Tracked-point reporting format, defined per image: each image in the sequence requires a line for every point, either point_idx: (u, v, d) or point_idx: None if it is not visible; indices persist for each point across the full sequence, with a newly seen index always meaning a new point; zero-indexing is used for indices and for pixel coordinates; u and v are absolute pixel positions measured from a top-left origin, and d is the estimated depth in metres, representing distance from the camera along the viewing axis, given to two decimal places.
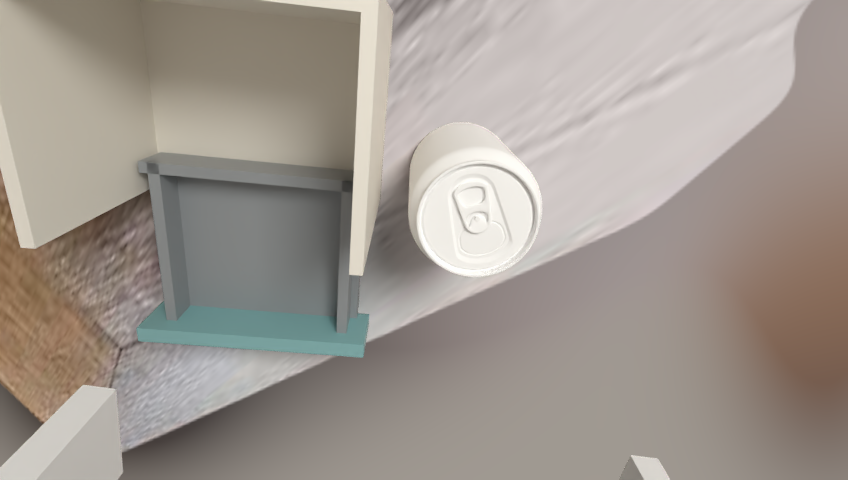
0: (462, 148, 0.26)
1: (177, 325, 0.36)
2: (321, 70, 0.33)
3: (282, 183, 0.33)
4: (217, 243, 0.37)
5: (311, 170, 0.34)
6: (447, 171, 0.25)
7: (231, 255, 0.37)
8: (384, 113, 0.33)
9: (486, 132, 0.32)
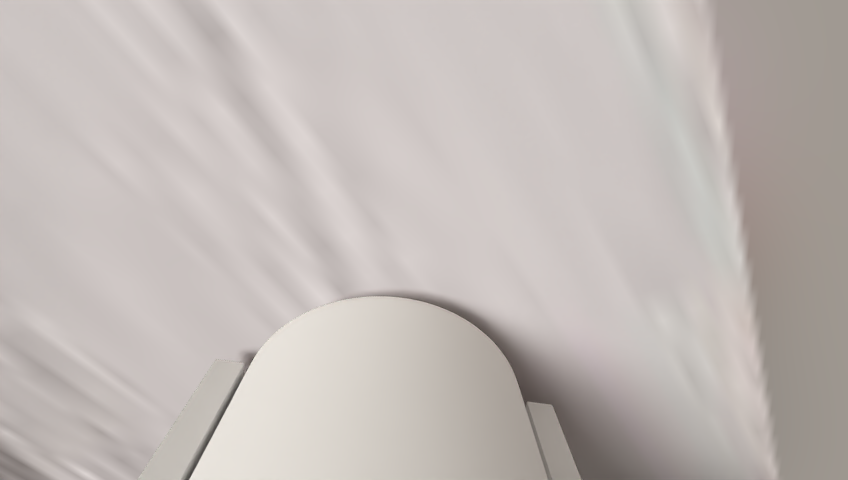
0: None
1: None
2: None
3: None
4: None
5: None
6: None
7: None
8: None
9: None
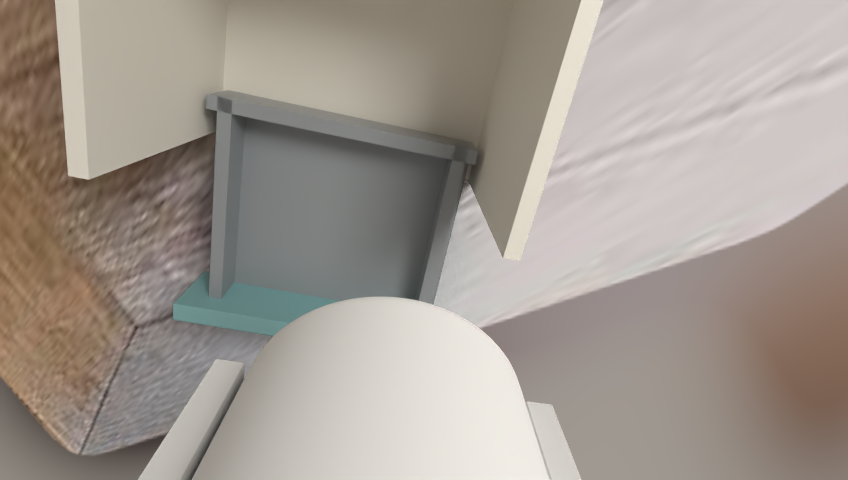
0: None
1: (222, 304, 0.30)
2: (441, 11, 0.27)
3: (382, 142, 0.26)
4: (280, 210, 0.30)
5: (412, 132, 0.28)
6: None
7: (295, 226, 0.31)
8: None
9: None
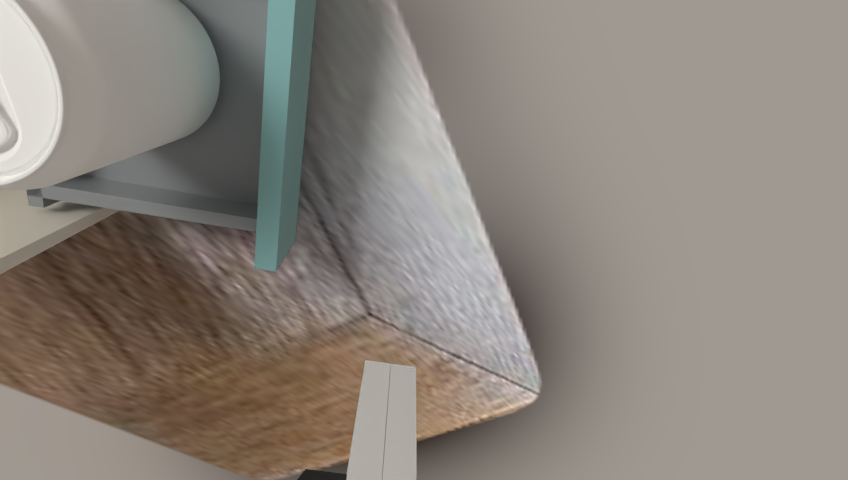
0: None
1: None
2: None
3: None
4: (174, 147, 0.27)
5: None
6: (26, 174, 0.15)
7: None
8: None
9: None
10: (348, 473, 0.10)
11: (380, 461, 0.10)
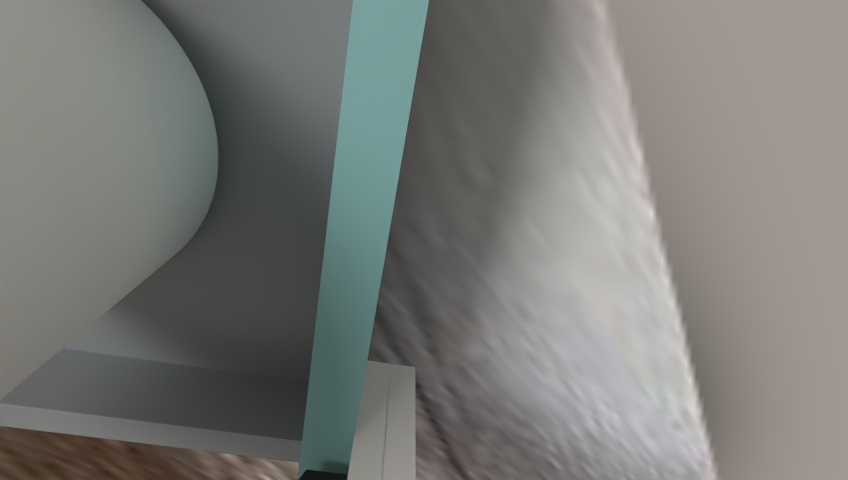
0: None
1: None
2: None
3: None
4: None
5: None
6: None
7: None
8: None
9: None
10: (349, 473, 0.10)
11: (379, 461, 0.10)
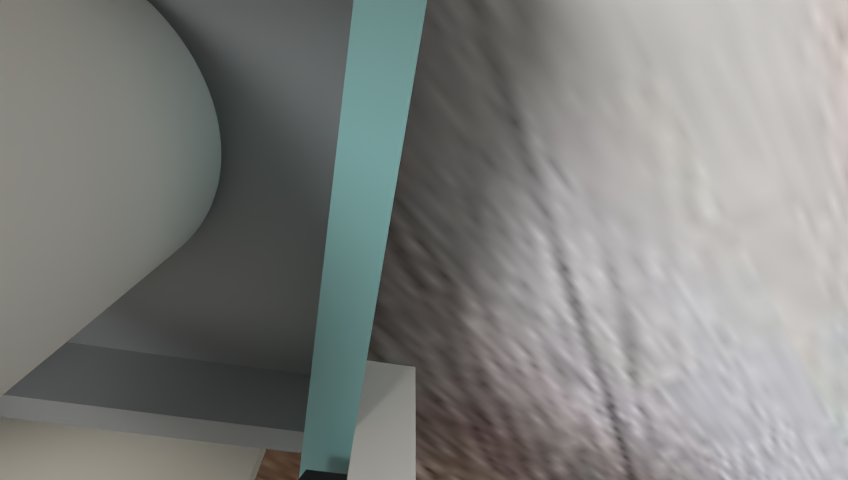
0: None
1: None
2: None
3: None
4: None
5: None
6: None
7: None
8: None
9: None
10: (349, 473, 0.10)
11: (379, 461, 0.10)
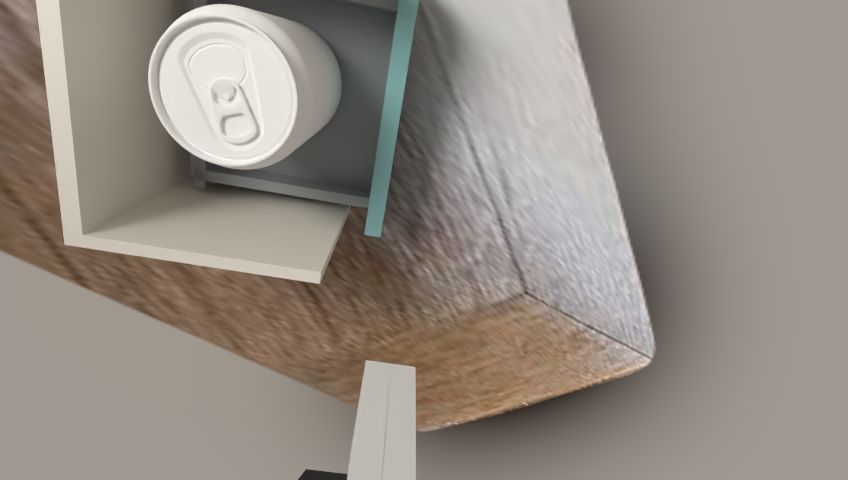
0: (257, 168, 0.25)
1: None
2: None
3: None
4: None
5: None
6: (265, 158, 0.23)
7: None
8: None
9: None
10: (349, 473, 0.10)
11: (379, 461, 0.10)
